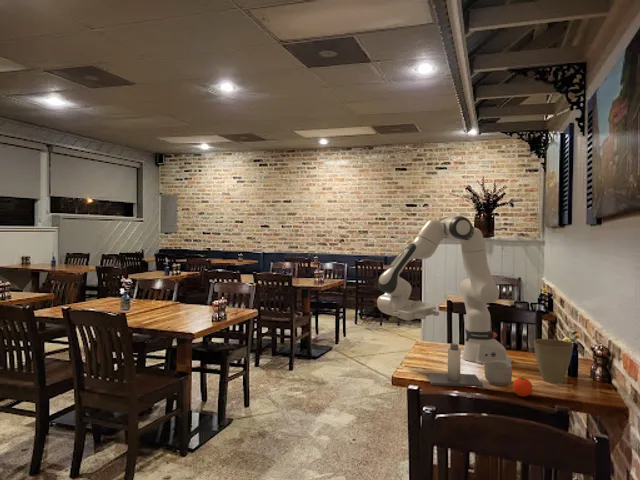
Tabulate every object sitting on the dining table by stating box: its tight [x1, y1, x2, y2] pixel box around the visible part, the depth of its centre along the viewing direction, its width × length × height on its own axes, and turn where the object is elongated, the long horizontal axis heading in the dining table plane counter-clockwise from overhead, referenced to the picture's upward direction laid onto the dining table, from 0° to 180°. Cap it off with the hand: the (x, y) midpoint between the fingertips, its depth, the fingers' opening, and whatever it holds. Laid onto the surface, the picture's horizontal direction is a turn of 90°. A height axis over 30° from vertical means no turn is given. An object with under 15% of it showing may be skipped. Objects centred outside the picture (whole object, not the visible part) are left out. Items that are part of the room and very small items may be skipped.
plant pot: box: [533, 338, 574, 384], centre depth 204 cm, size 15×15×16 cm
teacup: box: [483, 360, 513, 386], centre depth 202 cm, size 14×11×8 cm
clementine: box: [512, 376, 533, 398], centre depth 185 cm, size 8×7×7 cm
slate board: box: [427, 371, 484, 388], centre depth 203 cm, size 20×14×1 cm
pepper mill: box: [447, 343, 462, 380], centre depth 202 cm, size 5×5×14 cm
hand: (431, 315), depth 213 cm, fingers open, 8 cm apart
